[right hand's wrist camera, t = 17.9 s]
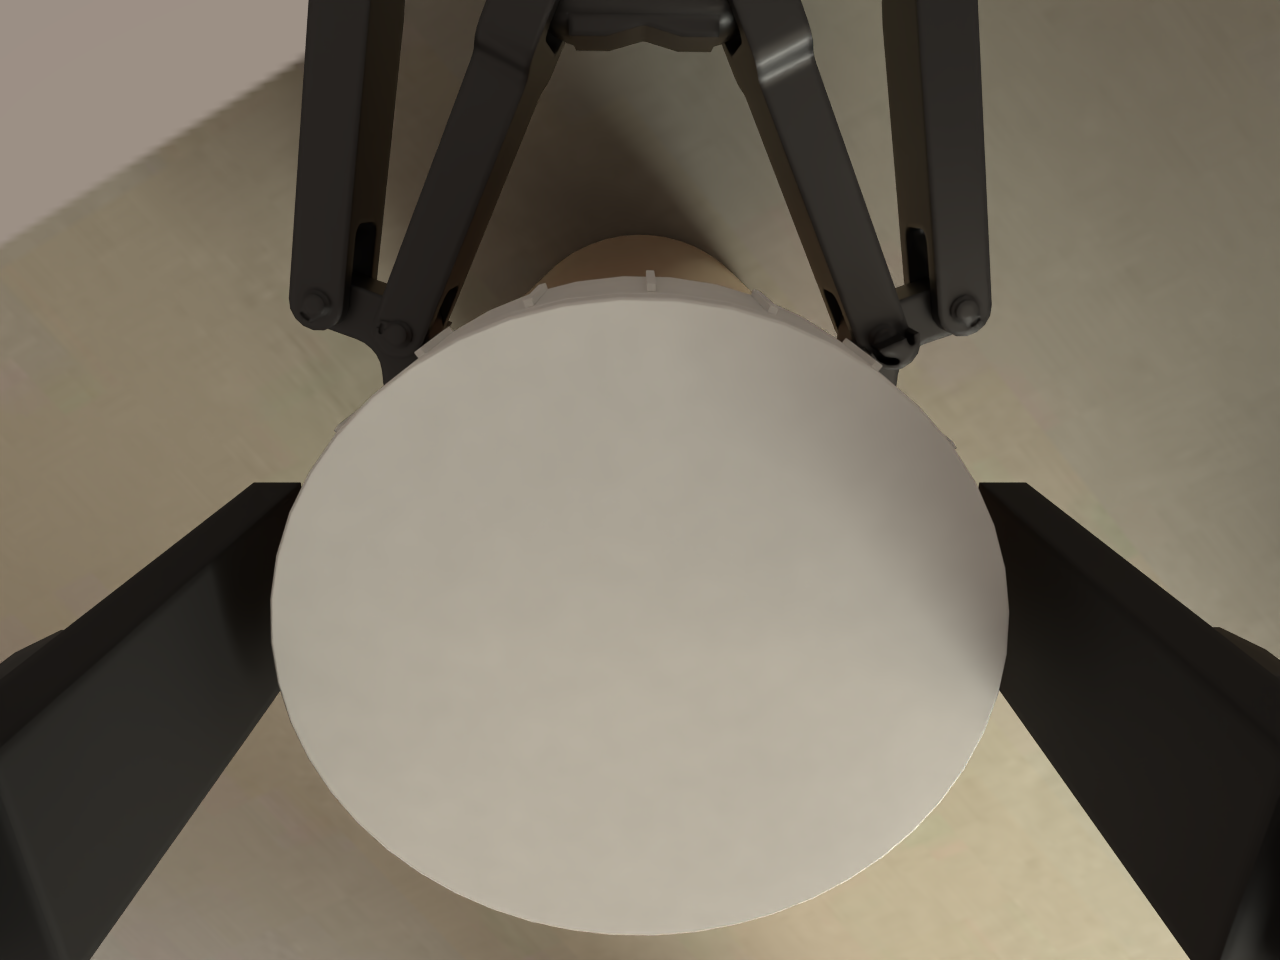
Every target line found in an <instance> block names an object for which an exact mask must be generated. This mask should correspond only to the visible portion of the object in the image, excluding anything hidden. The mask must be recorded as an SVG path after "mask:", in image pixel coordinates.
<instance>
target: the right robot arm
mask: <svg viewBox="0 0 1280 960" xmlns="http://www.w3.org/2000/svg"><path fill="white" fill-rule="evenodd" d="M978 489H979V491H980V493H981V496H982V498H983V500H984V503H985V505H986V507H987V510H988V512H989V514H990V517H991V519H992V521H993V524H994V526H995V530H996V534H997V538H998V542H999V546H1000V550H1001V554H1002V558H1003V562H1004V566H1005V572H1006V582H1007V593H1008V604H1009V624H1008V640H1007V655H1006V660H1005V664H1004V669H1003V674H1002V678H1001V683H1000V688H999V690H1000V692H1001V693H1002V695H1003V696H1004V697H1005V699H1006V700H1007V702H1008V703H1009V704H1010V706H1011V707H1012V709H1013V710H1014V712H1015V713H1016V714H1017V716H1018V717H1019V719H1020V720H1021V721H1022V723H1023V724H1024V726H1025V727H1026V728H1027V730H1028V731H1029V733H1030V734H1031V736H1032V737H1033V738H1034V740H1035V741H1036V743H1037V744H1038V745H1039V747H1040V748H1041V750H1042V751H1043V752H1044V754H1045V755H1046V757H1047V758H1048V760H1049V761H1050V762H1051V764H1052V765H1053V767H1054V768H1055V769H1056V771H1057V772H1058V774H1059V775H1060V776H1061V778H1062V779H1063V781H1064V782H1065V783H1066V785H1067V786H1068V788H1069V789H1070V791H1071V792H1072V793H1073V795H1074V796H1075V798H1076V799H1077V800H1078V802H1079V803H1080V805H1081V806H1082V807H1083V809H1084V810H1085V812H1086V813H1087V815H1088V816H1089V817H1090V819H1091V820H1092V822H1093V823H1094V824H1095V826H1096V827H1097V829H1098V830H1099V831H1100V833H1101V834H1102V836H1103V837H1104V839H1105V840H1106V841H1107V843H1108V844H1109V846H1110V847H1111V848H1112V850H1113V851H1114V853H1115V854H1116V855H1117V857H1118V858H1119V860H1120V861H1121V863H1122V864H1123V865H1124V867H1125V868H1126V870H1127V871H1128V872H1129V874H1130V875H1131V877H1132V878H1133V879H1134V881H1135V882H1136V884H1137V885H1138V887H1139V888H1140V889H1141V891H1142V892H1143V894H1144V895H1145V896H1146V898H1147V899H1148V901H1149V902H1150V903H1151V905H1152V906H1153V908H1154V909H1155V911H1156V912H1157V913H1158V915H1159V916H1160V918H1161V919H1162V920H1163V922H1164V923H1165V925H1166V926H1167V927H1168V929H1169V930H1170V932H1171V933H1172V935H1173V936H1174V937H1175V939H1176V940H1177V942H1178V943H1179V944H1180V946H1181V947H1182V949H1183V950H1184V951H1185V953H1186V954H1187V956H1188V957H1189V959H1190V960H1280V660H1279V659H1278V658H1276V657H1275V656H1274V655H1272V654H1271V653H1270V652H1268V651H1267V650H1266V649H1263V648H1261V647H1259V646H1257V645H1255V644H1253V643H1251V642H1249V641H1247V640H1245V639H1243V638H1241V637H1239V636H1237V635H1235V634H1233V633H1230V632H1228V631H1226V630H1224V629H1222V628H1220V627H1211V626H1210V625H1209V624H1208V623H1206V622H1205V621H1204V620H1202V619H1201V618H1200V617H1199V616H1197V615H1196V614H1195V613H1193V612H1192V611H1191V610H1190V609H1188V608H1187V607H1186V606H1184V605H1183V604H1182V603H1181V602H1179V601H1178V600H1177V599H1175V598H1174V597H1173V596H1172V595H1170V594H1169V593H1168V592H1166V591H1165V590H1164V589H1162V588H1161V587H1160V586H1159V585H1157V584H1156V583H1155V582H1153V581H1152V580H1151V579H1150V578H1148V577H1147V576H1146V575H1144V574H1143V573H1142V572H1141V571H1139V570H1138V569H1137V568H1135V567H1134V566H1133V565H1132V564H1130V563H1129V562H1128V561H1126V560H1125V559H1124V558H1123V557H1121V556H1120V555H1119V554H1117V553H1116V552H1115V551H1114V550H1112V549H1111V548H1110V547H1108V546H1107V545H1106V544H1105V543H1103V542H1102V541H1101V540H1099V539H1098V538H1097V537H1096V536H1094V535H1093V534H1092V533H1090V532H1089V531H1088V530H1086V529H1085V528H1084V527H1083V526H1081V525H1080V524H1079V523H1077V522H1076V521H1075V520H1074V519H1072V518H1071V517H1070V516H1068V515H1067V514H1066V513H1065V512H1063V511H1062V510H1061V509H1059V508H1058V507H1057V506H1056V505H1054V504H1053V503H1052V502H1050V501H1049V500H1048V499H1047V498H1045V497H1044V496H1043V495H1041V494H1040V493H1039V492H1038V491H1036V490H1035V489H1034V488H1032V487H1031V486H1030V485H1029V484H1027V483H979V488H978ZM300 490H301V483H253V484H251V485H250V486H249V487H248V488H246V489H245V490H244V491H242V492H241V493H240V494H239V495H237V496H236V497H235V498H233V499H232V500H231V501H230V502H228V503H227V504H226V505H224V506H223V507H222V508H221V509H219V510H218V511H217V512H215V513H214V514H213V515H212V516H210V517H209V518H208V519H206V520H205V521H204V522H203V523H201V524H200V525H199V526H197V527H196V528H195V529H194V530H192V531H191V532H190V533H188V534H187V535H186V536H184V537H183V538H182V539H181V540H179V541H178V542H177V543H175V544H174V545H173V546H172V547H170V548H169V549H168V550H166V551H165V552H164V553H163V554H161V555H160V556H159V557H157V558H156V559H155V560H154V561H152V562H151V563H150V564H148V565H147V566H146V567H145V568H143V569H142V570H141V571H139V572H138V573H137V574H136V575H134V576H133V577H132V578H130V579H129V580H128V581H127V582H125V583H124V584H123V585H121V586H120V587H119V588H118V589H116V590H115V591H114V592H112V593H111V594H110V595H108V596H107V597H106V598H105V599H103V600H102V601H101V602H99V603H98V604H97V605H96V606H94V607H93V608H92V609H90V610H89V611H88V612H87V613H85V614H84V615H83V616H81V617H80V618H79V619H78V620H76V621H75V622H74V623H72V624H71V625H70V626H69V627H67V628H66V629H65V630H60V631H58V632H56V633H54V634H52V635H50V636H48V637H46V638H44V639H42V640H40V641H38V642H36V643H34V644H32V645H30V646H28V647H25V648H23V649H21V650H19V651H17V652H15V653H14V654H13V655H11V656H10V657H9V658H7V659H6V660H5V661H3V662H2V663H1V664H0V960H90V959H91V957H92V956H93V954H94V953H95V951H96V950H97V949H98V947H99V946H100V944H101V943H102V942H103V940H104V939H105V937H106V936H107V935H108V933H109V932H110V930H111V929H112V927H113V926H114V925H115V923H116V922H117V920H118V919H119V918H120V916H121V915H122V913H123V912H124V911H125V909H126V908H127V906H128V905H129V903H130V902H131V901H132V899H133V898H134V896H135V895H136V894H137V892H138V891H139V889H140V888H141V887H142V885H143V884H144V882H145V881H146V879H147V878H148V877H149V875H150V874H151V872H152V871H153V870H154V868H155V867H156V865H157V864H158V863H159V861H160V860H161V858H162V857H163V855H164V854H165V853H166V851H167V850H168V848H169V847H170V846H171V844H172V843H173V841H174V840H175V839H176V837H177V836H178V834H179V833H180V831H181V830H182V829H183V827H184V826H185V824H186V823H187V822H188V820H189V819H190V817H191V816H192V815H193V813H194V812H195V810H196V809H197V807H198V806H199V805H200V803H201V802H202V800H203V799H204V798H205V796H206V795H207V793H208V792H209V791H210V789H211V788H212V786H213V785H214V783H215V782H216V781H217V779H218V778H219V776H220V775H221V774H222V772H223V771H224V769H225V768H226V767H227V765H228V764H229V762H230V761H231V760H232V758H233V757H234V755H235V754H236V752H237V751H238V750H239V748H240V747H241V745H242V744H243V743H244V741H245V740H246V738H247V737H248V736H249V734H250V733H251V731H252V730H253V728H254V727H255V726H256V724H257V723H258V721H259V720H260V719H261V717H262V716H263V714H264V713H265V712H266V710H267V709H268V707H269V706H270V704H271V703H272V702H273V700H274V699H275V697H276V696H277V695H278V693H279V692H280V688H279V685H278V681H277V675H276V669H275V663H274V657H273V651H272V645H271V610H270V597H271V590H272V583H273V576H274V569H275V562H276V555H277V552H278V548H279V545H280V542H281V539H282V535H283V532H284V529H285V525H286V522H287V519H288V516H289V512H290V510H291V508H292V506H293V504H294V502H295V500H296V498H297V496H298V494H299V492H300Z"/></svg>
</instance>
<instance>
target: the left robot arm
mask: <svg viewBox="0 0 1280 960" xmlns="http://www.w3.org/2000/svg"><path fill="white" fill-rule="evenodd" d="M404 5H405V0H309V3H308V19H307V34H306V49H305V64H304V79H303V94H302V109H301V124H300V139H299V154H298V169H297V185H296V200H295V215H294V230H293V245H292V260H291V275H290V290H289V302H290V309H291V311H292V313H293V315H294V317H295V318H296V319H297V320H298V321H299V322H300V323H301V324H302V325H303V326H305V327H308V328H310V329H312V330H326V329H330V330H333V331H336V332H338V333H341V334H344V335H347V336H350V337H352V338H355V339H358V340H360V341H362V342H364V343H365V344H366V345H368V346H369V347H370V348H371V349H372V350H373V351H374V352H375V354H376V355H377V357H378V359H379V361H380V363H381V368H382V374H383V383H384V385H385V384H386V383H388V382H389V381H390V380H391V379H393V378H394V377H395V376H397V375H398V374H399V373H400V372H402V371H403V370H404V369H405V368H407V367H408V366H409V365H410V364H412V363H413V362H414V361H416V360H417V359H418V357H417V356H416V354H415V353H414V352H415V351H417V350H418V349H419V348H421V347H422V346H423V345H425V344H426V343H427V342H429V341H430V340H431V339H433V338H434V337H435V336H437V335H438V334H439V333H441V332H442V331H443V330H445V329H446V328H448V327H449V326H450V325H451V323H452V322H450V321H448V320H449V318H450V316H451V313H452V311H453V308H454V306H455V303H456V301H457V298H458V296H459V293H460V291H461V289H462V286H463V284H464V281H465V279H466V276H467V274H468V271H469V269H470V266H471V264H472V261H473V259H474V257H475V254H476V252H477V249H478V247H479V244H480V242H481V239H482V237H483V234H484V232H485V230H486V227H487V225H488V222H489V220H490V217H491V215H492V212H493V210H494V207H495V205H496V203H497V200H498V198H499V195H500V193H501V190H502V188H503V185H504V183H505V180H506V178H507V175H508V173H509V171H510V168H511V166H512V163H513V161H514V158H515V156H516V153H517V151H518V148H519V146H520V144H521V141H522V139H523V136H524V134H525V131H526V129H527V126H528V124H529V121H530V119H531V117H532V114H533V112H534V109H535V107H536V104H537V102H538V99H539V97H540V95H541V93H542V91H543V90H544V88H545V87H546V85H547V83H548V82H549V80H550V78H551V75H552V73H553V71H554V68H555V66H556V63H557V61H558V58H559V56H560V54H561V51H562V49H563V46H564V44H565V42H566V43H569V44H572V45H574V47H575V49H576V51H610V50H614V49H617V48H621V47H624V46H628V45H631V44H634V43H638V42H642V41H645V42H649V43H652V44H655V45H658V46H662V47H665V48H668V49H671V50H674V51H677V52H711V50H712V49H713V47H714V46H717V45H720V44H722V46H723V48H724V51H725V54H726V56H727V59H728V61H729V64H730V67H731V69H732V72H733V74H734V77H735V79H736V81H737V83H738V85H739V87H740V89H741V90H742V92H743V93H744V95H745V97H746V100H747V102H748V105H749V107H750V110H751V112H752V115H753V118H754V120H755V123H756V125H757V128H758V131H759V133H760V136H761V138H762V141H763V144H764V146H765V149H766V151H767V154H768V157H769V159H770V162H771V164H772V167H773V170H774V172H775V175H776V177H777V180H778V183H779V185H780V188H781V190H782V193H783V196H784V198H785V201H786V204H787V206H788V209H789V211H790V214H791V217H792V219H793V222H794V224H795V227H796V230H797V232H798V235H799V237H800V240H801V243H802V245H803V248H804V250H805V253H806V256H807V258H808V261H809V263H810V266H811V269H812V271H813V274H814V276H815V279H816V282H817V284H818V287H819V289H820V292H821V295H822V297H823V300H824V302H825V305H826V308H827V310H828V313H829V315H830V318H831V321H832V323H833V326H834V328H835V331H836V333H837V339H838V340H839V341H840V342H843V341H844V340H845V338H847V339H848V340H850V341H851V342H852V343H854V344H855V345H856V346H858V347H859V348H860V349H862V350H863V351H864V352H866V353H867V354H868V355H870V356H871V357H872V358H874V359H875V360H876V361H878V362H879V363H880V364H881V365H882V368H881V369H880V370H879V371H878V372H880V373H881V374H882V375H883V376H884V377H886V378H887V379H888V380H889V381H890V382H891V383H893V384H894V385H895V386H896V384H897V376H898V372H899V369H901V368H903V367H905V366H906V365H908V364H909V363H911V362H912V361H913V359H914V358H915V357H916V355H917V354H918V351H919V347H920V346H921V345H923V344H925V343H928V342H931V341H934V340H937V339H940V338H943V337H946V336H949V335H952V334H953V335H955V336H968V335H970V334H973V333H975V332H977V331H978V330H979V329H981V328H982V327H983V326H984V325H985V324H986V322H987V320H988V318H989V316H990V313H991V306H992V301H991V280H990V258H989V236H988V215H987V193H986V172H985V150H984V128H983V107H982V85H981V63H980V42H979V20H978V0H882V19H883V35H884V47H885V59H886V71H887V83H888V95H889V107H890V119H891V131H892V142H893V154H894V166H895V178H896V190H897V202H898V214H899V226H900V238H901V250H902V262H903V274H904V285H903V286H900V287H897V288H895V287H894V284H893V281H892V278H891V275H890V272H889V270H888V267H887V264H886V261H885V258H884V255H883V252H882V250H881V247H880V244H879V241H878V238H877V235H876V233H875V230H874V227H873V224H872V221H871V218H870V215H869V213H868V210H867V207H866V204H865V201H864V198H863V195H862V193H861V190H860V187H859V184H858V181H857V178H856V176H855V173H854V170H853V167H852V164H851V161H850V158H849V156H848V153H847V150H846V147H845V144H844V141H843V138H842V136H841V133H840V130H839V127H838V124H837V121H836V118H835V116H834V113H833V110H832V107H831V104H830V101H829V99H828V96H827V93H826V90H825V87H824V84H823V81H822V79H821V76H820V73H819V70H818V67H817V64H816V61H815V58H814V53H813V39H812V34H811V30H810V26H809V23H808V20H807V17H806V14H805V11H804V8H803V6H802V3H801V0H486V3H485V6H484V8H483V11H482V14H481V16H480V19H479V22H478V25H477V29H476V33H475V40H474V50H473V54H472V57H471V60H470V63H469V66H468V68H467V71H466V74H465V77H464V79H463V82H462V85H461V87H460V90H459V93H458V95H457V98H456V101H455V103H454V106H453V109H452V111H451V114H450V117H449V119H448V122H447V125H446V127H445V130H444V133H443V135H442V138H441V141H440V143H439V146H438V149H437V151H436V154H435V157H434V159H433V162H432V165H431V168H430V170H429V173H428V176H427V178H426V181H425V184H424V186H423V189H422V192H421V194H420V197H419V200H418V202H417V205H416V208H415V210H414V213H413V216H412V218H411V221H410V224H409V226H408V229H407V232H406V234H405V237H404V240H403V242H402V245H401V248H400V250H399V253H398V256H397V259H396V261H395V264H394V267H393V269H392V272H391V275H390V277H389V280H388V283H387V284H386V283H384V282H381V281H378V280H377V273H378V263H379V253H380V244H381V234H382V225H383V215H384V205H385V196H386V186H387V176H388V167H389V157H390V148H391V138H392V128H393V119H394V109H395V99H396V90H397V80H398V71H399V61H400V51H401V42H402V32H403V23H404Z"/></svg>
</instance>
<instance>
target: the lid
mask: <svg viewBox="0 0 1280 960" xmlns="http://www.w3.org/2000/svg"><path fill="white" fill-rule="evenodd" d="M414 353H415V354H416V356H417V357H418V359H417V360H416V361H414V362H413V363H412V364H410V365H409V366H408V367H407V368H405V369H404V370H403V371H402V372H400V373H399V374H398V375H397V376H395V377H394V378H393V379H391V380H390V381H389V382H388V383H386V384H385V385H384V386H383V387H381V388H380V389H379V390H378V391H376V392H375V393H374V394H372V395H371V396H370V397H369V398H368V399H367V400H366V401H365V403H364V404H363V405H362V406H361V407H360V408H359V409H357V410H356V411H355V412H354V413H352V414H351V415H350V416H349V417H347V418H346V419H345V420H344V421H342V422H341V423H340V424H339V425H338V426H337V427H336V428H335V430H334V431H335V432H336V434H335V435H334V437H333V438H332V439H331V441H330V442H329V444H328V445H327V447H326V448H325V450H324V451H323V452H322V454H321V455H320V457H319V458H318V460H317V461H316V463H315V464H314V465H313V467H312V468H311V470H310V471H309V473H308V475H307V477H306V479H305V482H304V484H303V486H302V488H301V490H300V492H299V494H298V496H297V498H296V500H295V502H294V504H293V506H292V508H291V510H290V512H289V516H288V519H287V522H286V525H285V529H284V532H283V535H282V539H281V542H280V545H279V548H278V552H277V555H276V562H275V569H274V576H273V583H272V590H271V597H270V610H271V645H272V651H273V657H274V663H275V669H276V675H277V681H278V685H279V688H280V691H281V694H282V697H283V700H284V703H285V706H286V709H287V712H288V716H289V719H290V722H291V724H292V726H293V728H294V730H295V732H296V734H297V736H298V738H299V740H300V742H301V744H302V746H303V748H304V750H305V752H306V755H307V757H308V759H309V760H310V762H311V763H312V765H313V766H314V768H315V769H316V771H317V772H318V774H319V775H320V777H321V778H322V780H323V781H324V783H325V784H326V786H327V787H328V789H329V790H330V792H331V793H332V794H333V795H334V796H335V797H336V799H337V800H338V801H339V802H340V803H341V804H342V806H343V807H344V808H345V809H346V810H347V811H348V812H349V814H350V815H351V816H352V817H353V818H354V819H355V821H356V822H357V823H358V824H359V825H360V826H362V827H363V828H364V829H365V830H366V831H367V832H368V833H369V834H370V835H372V836H373V837H374V838H375V839H376V840H377V841H378V842H379V843H380V844H381V845H383V846H384V847H385V848H386V849H387V850H388V851H390V852H391V853H392V854H394V855H395V856H397V857H398V858H399V859H401V860H402V861H404V862H405V863H406V864H408V865H409V866H411V867H412V868H413V869H415V870H416V871H418V872H419V873H420V874H422V875H424V876H426V877H428V878H429V879H431V880H433V881H435V882H436V883H438V884H440V885H442V886H443V887H445V888H447V889H449V890H451V891H452V892H454V893H456V894H458V895H461V896H463V897H465V898H468V899H470V900H472V901H475V902H477V903H479V904H481V905H484V906H486V907H488V908H491V909H493V910H496V911H499V912H503V913H506V914H509V915H512V916H515V917H518V918H521V919H525V920H528V921H531V922H535V923H540V924H545V925H549V926H554V927H559V928H564V929H568V930H574V931H583V932H592V933H601V934H610V935H665V934H677V933H690V932H698V931H704V930H709V929H715V928H720V927H726V926H731V925H736V924H740V923H743V922H747V921H750V920H754V919H757V918H761V917H764V916H768V915H772V914H775V913H777V912H780V911H782V910H785V909H788V908H790V907H793V906H795V905H798V904H800V903H803V902H805V901H808V900H810V899H813V898H815V897H817V896H818V895H820V894H822V893H824V892H826V891H828V890H830V889H832V888H834V887H836V886H838V885H840V884H841V883H843V882H845V881H847V880H849V879H851V878H852V877H854V876H855V875H857V874H858V873H860V872H861V871H863V870H864V869H865V868H867V867H868V866H870V865H871V864H873V863H874V862H876V861H877V860H879V859H880V858H882V857H883V856H884V855H886V854H887V853H888V852H889V851H890V850H892V849H893V848H894V847H895V846H896V845H897V844H899V843H900V842H901V841H902V840H903V839H905V838H906V837H907V836H908V835H909V834H910V833H912V832H913V831H914V830H915V829H916V828H917V827H918V826H919V824H920V823H921V822H922V821H923V820H924V819H925V818H926V817H927V816H928V815H929V814H930V813H931V812H932V810H933V809H934V808H935V807H936V806H937V805H938V804H939V803H940V802H941V801H942V799H943V798H944V796H945V795H946V794H947V792H948V791H949V790H950V788H951V787H952V785H953V784H954V783H955V781H956V780H957V778H958V777H959V776H960V774H961V773H962V772H963V770H964V769H965V767H966V765H967V763H968V761H969V760H970V758H971V756H972V754H973V752H974V750H975V748H976V747H977V745H978V743H979V741H980V739H981V737H982V735H983V734H984V731H985V728H986V726H987V723H988V720H989V718H990V715H991V712H992V710H993V707H994V704H995V701H996V699H997V696H998V692H999V688H1000V683H1001V678H1002V674H1003V669H1004V664H1005V660H1006V655H1007V640H1008V624H1009V604H1008V593H1007V582H1006V572H1005V566H1004V562H1003V558H1002V554H1001V550H1000V546H999V542H998V538H997V534H996V530H995V526H994V524H993V521H992V519H991V517H990V514H989V512H988V510H987V507H986V505H985V503H984V500H983V498H982V496H981V493H980V491H979V489H978V486H977V484H976V482H975V481H974V479H973V478H972V476H971V474H970V473H969V471H968V470H967V468H966V466H965V465H964V463H963V462H962V460H961V458H960V457H959V455H958V454H957V452H956V450H955V449H956V446H955V444H954V443H953V442H952V441H951V440H950V439H949V438H948V437H946V436H945V435H944V434H943V433H942V432H941V431H940V430H939V429H938V428H937V427H936V425H935V424H934V423H933V422H932V421H931V420H930V418H929V417H928V416H927V415H926V414H925V413H924V411H923V410H922V409H921V408H920V407H919V406H918V405H917V404H916V403H915V402H913V401H912V400H911V399H910V398H909V397H908V396H907V395H905V394H904V393H903V392H902V391H901V390H900V389H898V388H897V387H896V386H895V385H894V384H893V383H891V382H890V381H889V380H888V379H887V378H886V377H884V376H883V375H882V374H881V373H880V372H878V371H879V370H880V369H881V368H882V365H881V364H880V363H879V362H878V361H876V360H875V359H874V358H872V357H871V356H870V355H868V354H867V353H866V352H864V351H863V350H862V349H860V348H859V347H858V346H856V345H855V344H854V343H852V342H851V341H850V340H848V339H847V338H845V340H844V341H843V342H840V341H839V340H838V339H836V338H835V337H833V336H831V335H830V334H828V333H827V332H825V331H824V330H822V329H821V328H819V327H817V326H816V325H814V324H813V323H811V322H810V321H808V320H806V319H805V318H803V317H802V316H800V315H797V314H795V313H793V312H791V311H789V310H786V309H784V308H782V307H780V306H778V305H775V304H774V303H773V302H772V301H770V300H769V299H768V298H767V297H766V296H765V295H764V294H763V293H762V292H760V291H758V290H755V289H753V291H752V294H751V295H750V294H747V293H743V292H740V291H736V290H733V289H730V288H726V287H723V286H720V285H716V284H710V283H704V282H697V281H691V280H685V279H678V278H672V277H655V273H654V270H646V277H635V276H621V277H612V278H604V279H595V280H586V281H578V282H573V283H569V284H565V285H561V286H557V287H554V288H550V289H548V288H547V285H546V283H543V284H540V285H538V286H537V287H536V288H535V289H534V290H533V291H532V292H531V293H530V294H528V295H526V296H523V297H521V298H518V299H516V300H513V301H511V302H509V303H506V304H504V305H501V306H499V307H496V308H494V309H491V310H489V311H487V312H486V313H484V314H482V315H480V316H479V317H477V318H475V319H474V320H472V321H470V322H468V323H467V324H465V325H463V326H461V327H460V328H458V329H456V330H455V331H452V329H451V328H450V327H448V328H446V329H445V330H443V331H442V332H441V333H439V334H438V335H437V336H435V337H434V338H433V339H431V340H430V341H429V342H427V343H426V344H425V345H423V346H422V347H421V348H419V349H418V350H417V351H415V352H414Z"/></svg>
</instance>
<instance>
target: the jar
mask: <svg viewBox="0 0 1280 960" xmlns="http://www.w3.org/2000/svg"><path fill="white" fill-rule="evenodd" d="M646 270H654V273H655V277H672V278H678V279H685V280H691V281H697V282H704V283H710V284H716V285H720V286H723V287H726V288H730V289H733V290H736V291H740V292H743V293H747V294H750V295H751V294H752V292H751V291H750V290H749V289H748V288H747V287H746V286H745V285H744V284H743V283H742V282H741V281H740V280H739V279H738V278H737V277H736V276H735V275H734V274H733V273H732V272H731V271H729V270H728V269H727V268H726V267H725V266H724V265H723V264H722V263H720V262H719V261H718V260H716V259H715V258H713V257H712V256H711V255H709V254H708V253H706V252H704V251H702V250H700V249H698V248H696V247H694V246H692V245H690V244H687V243H684V242H681V241H679V240H676V239H671V238H666V237H662V236H654V235H625V236H618V237H613V238H608V239H604V240H601V241H599V242H596V243H593V244H590V245H588V246H586V247H584V248H582V249H580V250H578V251H576V252H574V253H572V254H571V255H569V256H568V257H566V258H565V259H563V260H562V261H561V262H559V263H558V264H557V265H556V266H555V267H554V268H552V269H551V270H550V271H549V272H548V273H547V274H546V275H545V276H544V277H543V278H542V279H541V280H540V281H539V282H538V283H537V284H536V285H535V286H534V287H533V288H531V289H530V290H529V291H528V292H527V293H526V294H525V295H524V296H526V295H528V294H530V293H531V292H532V291H533V290H534V289H535V288H536V287H537V286H538V285H540V284H543V283H546V285H547V288H548V289H550V288H554V287H557V286H561V285H565V284H569V283H573V282H578V281H586V280H595V279H604V278H612V277H621V276H635V277H646Z"/></svg>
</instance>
